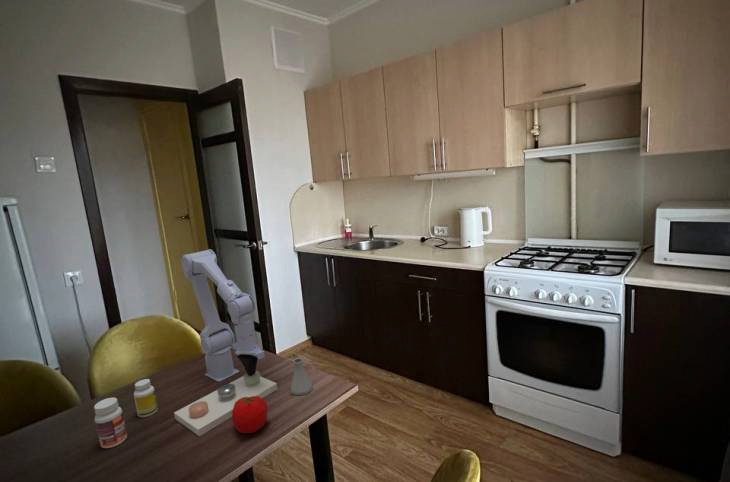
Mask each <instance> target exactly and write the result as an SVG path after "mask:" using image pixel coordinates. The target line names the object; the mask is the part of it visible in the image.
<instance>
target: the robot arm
mask: <svg viewBox="0 0 730 482" xmlns="http://www.w3.org/2000/svg"><path fill="white" fill-rule="evenodd" d="M180 265H181V268H182V271H183V274H184V276H185V279H186V280H188V281H190V284H191V285H192V289H193V291H194V294H195V299H196V301H197V304H198V307H199V310H200V313H201V316H202V320H203V322H204V325H205V327H204V328H203V329H202V331H201V332H200V333H199V339H200V346H201V349H202V351H203V353H204V354H205V355H204V361H205V366H206V373H205V374H204V376H205V377H208V378H210V379H212V380H214V381H216V382H217V383H221V382H223V381H224V380H226V379H229V378H231V377H232V376H235V375H236V374H238V373H240V370H239V369H236V368H234V363H233V356H232V350H234V351H235V350H236V351H235V352H234V354H235V355H236V356H237V359H238V360H239V361H240V362H241V364H242V366H243V368H244V370H245V374H246V373H247V375H249V376H252V375H253V374H255V372H256V371H257V363H258V360H261V359H263V358H266V357H265V356H266V355H265V350H262V348H261V347H260V346H259V345H258V343H257V338H256V330H255V324H254V316H253V312H254V311H255V309H256V304H255V301H254V299H253V297H252V295H251V294H248V293H246V292H243V291H242V290H241V289H240V288H239V287H238V286H237V285H236V283H235V282H234V280H232V279H227V277H226V275H225V273H223V271H222V270H221V268H220V266H219V265H218V258H217V254H216V253H215V251H213V249H210V248H209V249H206V250H201V251H196V252H193V253H188V254H183V255H182V257H181V263H180ZM208 278H209V280H211V282H212V283H214V285H215V286H216V287H217V289H216V292H217V294H218V295H219V296H220V297H221V299H222V301H224V302H225V304H226V305H227V311H228V314H229V317H230V318H231V322H232V323H233V325H234V327H233V328H234V332H235V334H234V332H233V331H232V329H231V327H230V325H229V324H228V323H226V322H222V321H221V319H220V316H219V313H218V309H217V306H216V303H215V301H214V300H215V299H214V296H213V294H212V291H211V287H210V286H209V285H210V284H209V281H208ZM235 339H236V340H235ZM235 341H236V342H235ZM231 349H232V350H231Z"/></svg>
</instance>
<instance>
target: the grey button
mask: <svg viewBox="0 0 730 482" xmlns="http://www.w3.org/2000/svg"><path fill="white" fill-rule="evenodd" d="M216 390H217V391H218V397H219V398H228V397H230V396H232V395H234V394H235V392H236V390H235V385H234V384H229V383H225V384H223V385H221V386H219V387H218V388H217V389H216Z"/></svg>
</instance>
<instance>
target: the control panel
mask: <svg viewBox="0 0 730 482" xmlns="http://www.w3.org/2000/svg"><path fill="white" fill-rule="evenodd" d="M228 384H234V385H235V390H236V392H235V394H234V395H232V396H230V397H228V398H219V397H218V391H217V390H218V389H216V390H215V391H212V392H210V393H209V394H207V395H204V396H203V397H201V398H199V399H198V400H196V401H194V402H192V403H189V404H188V405H186V406H184V407H182V408H179V409H178V410H176V411H174V412H173V414H174V419H175V420H176V421H177V422H178V423H180V424H181V425H183V426H184V427H186V428H187V429H189V431H191V432H192V433H194V434H195V435H197V436H198V437H201V436H203V435H205V434H206V433H208V432H209V431H212V430H213V429H214V428H217V426H219V425H222V423H224V422H226V421H227V420H230V418H231V419H232V410H233V407H234V404H235V402H236V401H237V400H239V399H241V397H242V398H243V397H252V396H259V397H260V398H262V399H264V398H265V397H267V396H268V395H270V394H272V393H273V392H275V391H277V390H278V384H277V382H274V381H272V380H269V379H268V378H265V377H264V376H261V375H260V380H259V381H257V382H255V383H252V384H246V383H245V382H244V375H243V376H241V377H239V378H236V379H235V380H233V381H231V382H229V383H228ZM201 401H205V402H207V403H208V412H207V413H206V414H204V415H202V416H200V417H195V418H193V417H190V415H189V407H190V406H191V405H193V404H194V403H197V402H201Z"/></svg>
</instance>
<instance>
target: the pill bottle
mask: <svg viewBox="0 0 730 482" xmlns="http://www.w3.org/2000/svg"><path fill="white" fill-rule="evenodd" d="M93 408H94V414H95V416H94V424H95V427H96V433H97V435H98V436H97V437H98V439H99V445H100V447H101V448H102V449H109V448H111V449H112V448H114V447H116V446H118V445H121V444H122V443H123V442H124V441H125V440H126V439H127V437H128V431H127V427H126V423H125V419H124V412H123V409H122V408H121V407H120V406H119V402H118V398H116V397H107V398H105V399H102V400H100V401H98V402H96V404H95V405H94V407H93Z"/></svg>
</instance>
